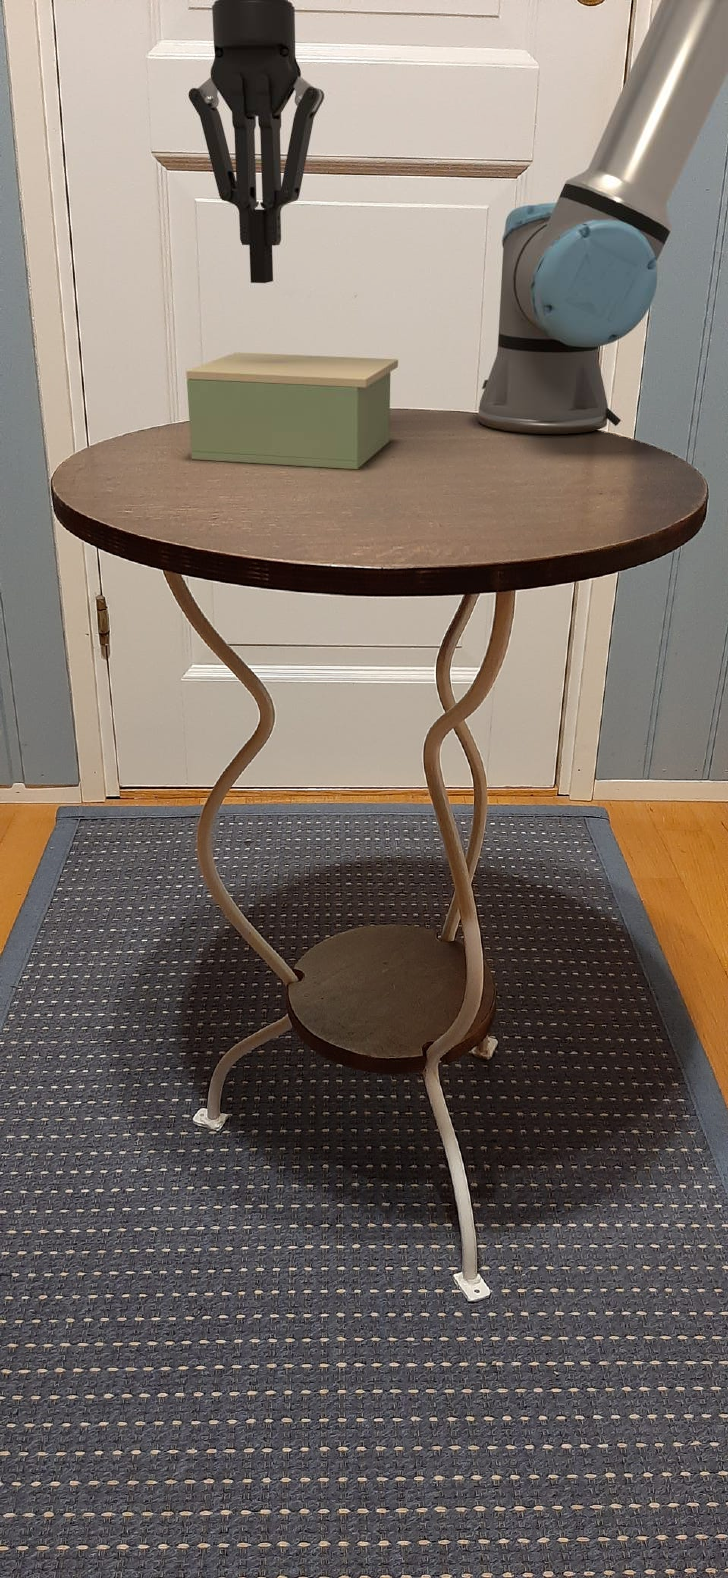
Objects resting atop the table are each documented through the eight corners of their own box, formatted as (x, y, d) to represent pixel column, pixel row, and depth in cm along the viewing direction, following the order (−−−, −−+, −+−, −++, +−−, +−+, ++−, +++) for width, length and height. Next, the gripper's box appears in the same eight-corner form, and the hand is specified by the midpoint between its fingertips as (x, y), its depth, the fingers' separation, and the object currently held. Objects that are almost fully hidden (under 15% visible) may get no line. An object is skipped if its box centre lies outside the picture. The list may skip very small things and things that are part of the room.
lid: (397, 367, 123) (398, 359, 123) (365, 387, 111) (365, 379, 110) (235, 360, 127) (235, 352, 127) (186, 379, 114) (186, 370, 114)
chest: (389, 441, 127) (390, 367, 123) (357, 469, 114) (357, 387, 111) (238, 433, 131) (235, 360, 127) (191, 459, 118) (186, 379, 114)
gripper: (170, -5, 103) (187, 283, 114) (310, -9, 100) (314, 286, 111) (200, 6, 109) (213, 277, 120) (333, 3, 106) (334, 281, 117)
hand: (262, 281), depth 116 cm, fingers closed
